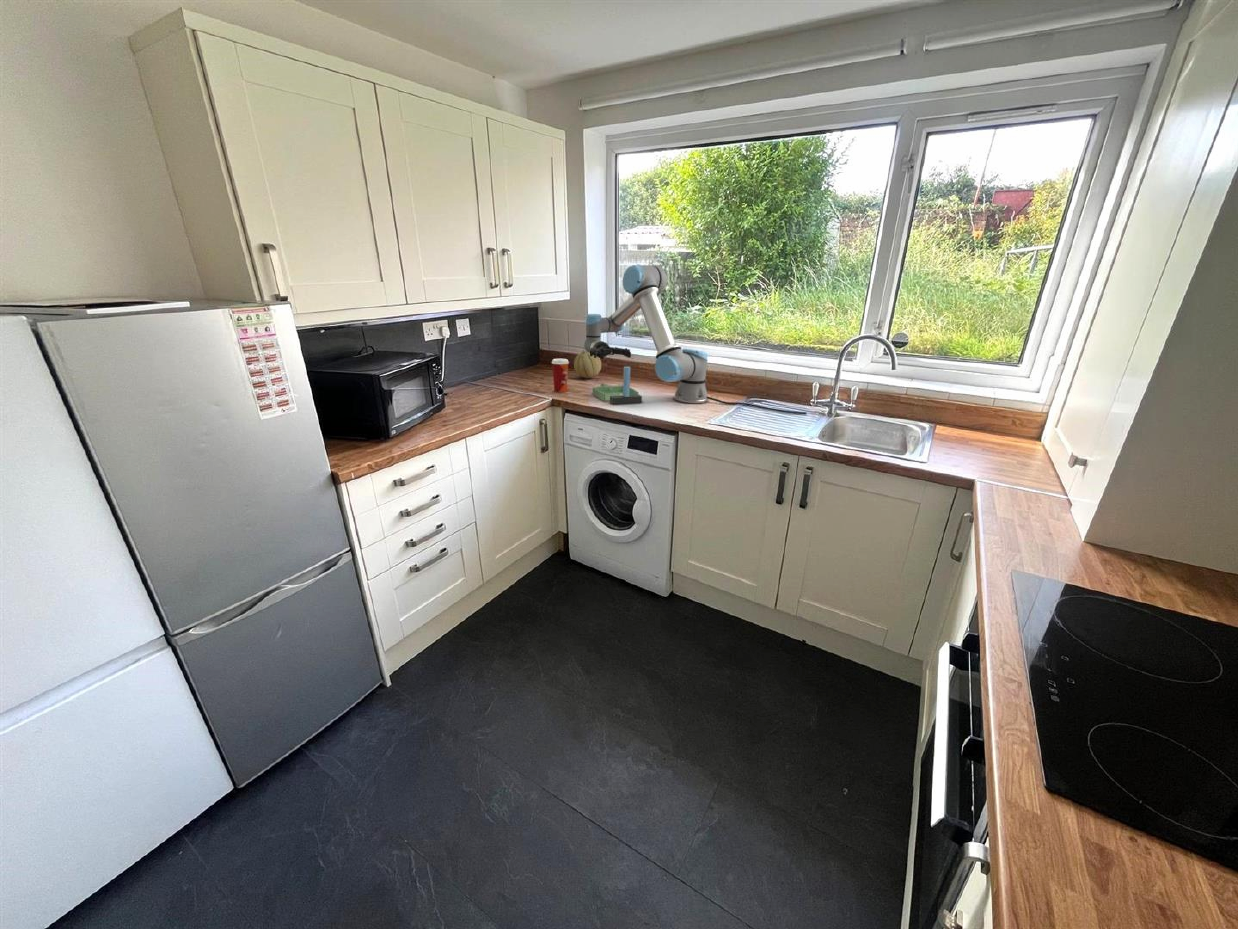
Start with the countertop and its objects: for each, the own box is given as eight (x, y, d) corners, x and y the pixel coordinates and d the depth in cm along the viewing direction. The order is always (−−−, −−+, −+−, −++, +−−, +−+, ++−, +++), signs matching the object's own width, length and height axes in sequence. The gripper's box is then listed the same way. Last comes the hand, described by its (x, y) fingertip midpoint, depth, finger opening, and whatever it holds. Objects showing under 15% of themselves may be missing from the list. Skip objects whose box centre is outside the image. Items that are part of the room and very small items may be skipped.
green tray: (638, 398, 231) (638, 391, 230) (603, 401, 225) (603, 394, 224) (617, 387, 252) (618, 381, 251) (585, 389, 246) (585, 382, 245)
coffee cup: (568, 393, 238) (567, 361, 232) (550, 392, 238) (550, 360, 232) (570, 389, 245) (569, 358, 240) (553, 388, 245) (552, 357, 240)
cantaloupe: (606, 377, 273) (606, 350, 268) (590, 382, 262) (591, 353, 256) (584, 374, 281) (584, 347, 275) (568, 378, 269) (568, 350, 264)
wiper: (641, 402, 225) (643, 367, 219) (613, 404, 220) (614, 368, 214) (638, 400, 228) (639, 365, 223) (609, 402, 223) (610, 366, 217)
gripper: (623, 355, 252) (640, 362, 233) (576, 357, 242) (590, 364, 224) (623, 340, 249) (641, 346, 231) (575, 341, 240) (590, 347, 222)
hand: (616, 355), depth 227 cm, fingers open, 13 cm apart
